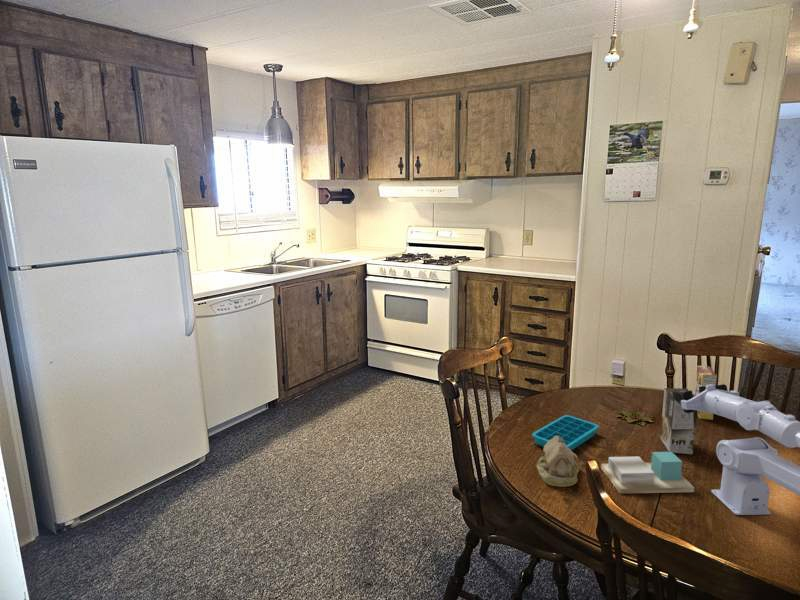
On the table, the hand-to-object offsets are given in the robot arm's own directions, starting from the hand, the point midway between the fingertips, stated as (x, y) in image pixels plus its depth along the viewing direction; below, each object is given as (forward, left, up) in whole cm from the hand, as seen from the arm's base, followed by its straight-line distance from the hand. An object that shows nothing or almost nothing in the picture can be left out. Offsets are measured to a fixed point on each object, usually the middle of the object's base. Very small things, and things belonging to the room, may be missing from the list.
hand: (687, 392), depth 134 cm
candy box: (+28, -23, -19) cm, 41 cm away
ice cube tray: (+13, +27, -20) cm, 36 cm away
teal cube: (-10, +9, -18) cm, 23 cm away
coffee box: (+7, -3, -19) cm, 21 cm away
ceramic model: (-6, +35, -20) cm, 41 cm away
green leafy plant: (+26, 0, -20) cm, 33 cm away
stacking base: (-10, +14, -19) cm, 26 cm away
